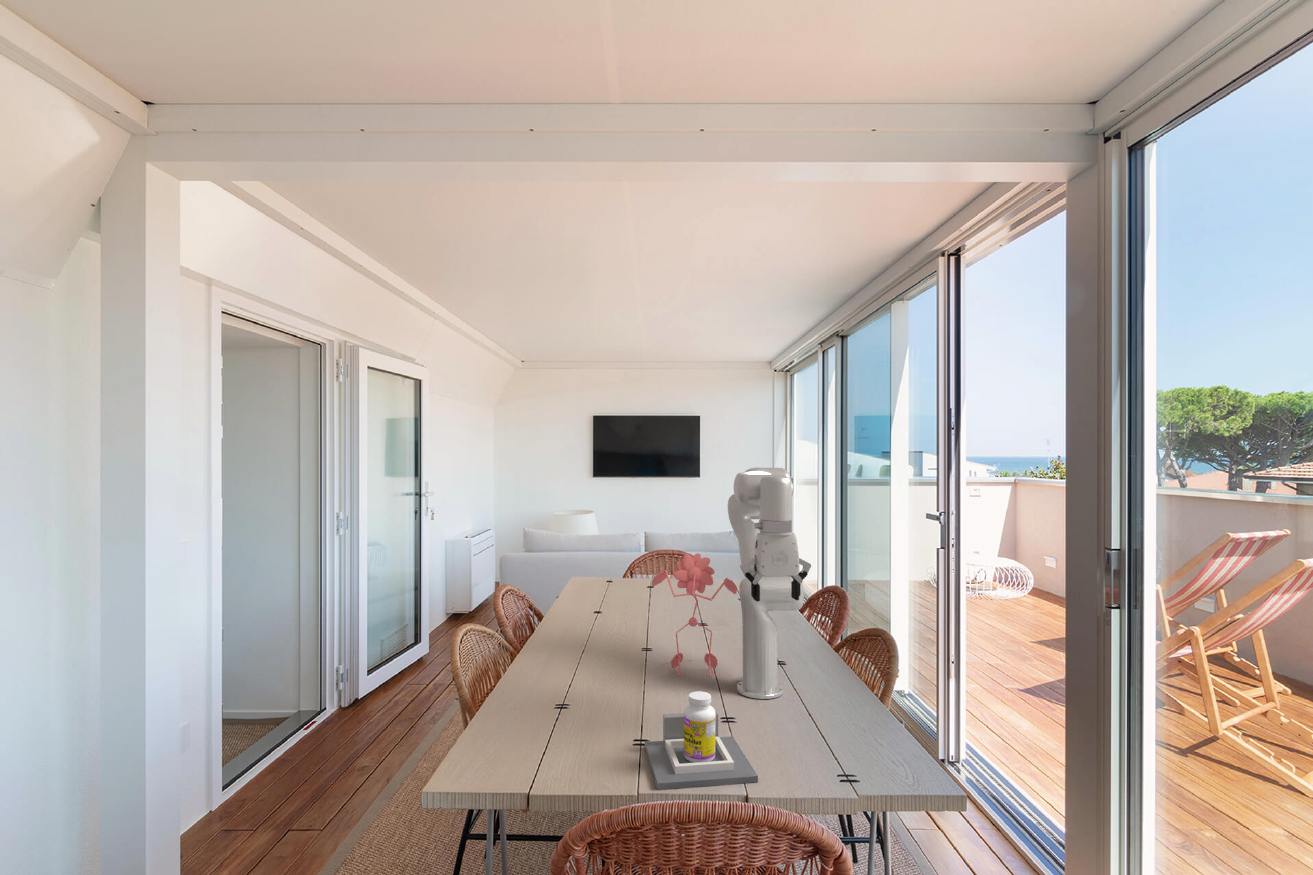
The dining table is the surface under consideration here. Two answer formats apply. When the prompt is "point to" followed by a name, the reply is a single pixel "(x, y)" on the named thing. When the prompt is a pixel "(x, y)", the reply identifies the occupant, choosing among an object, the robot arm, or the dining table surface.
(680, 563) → the pink stick figure
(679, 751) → the dock
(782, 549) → the robot arm
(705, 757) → the supplement bottle
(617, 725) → the dining table surface
